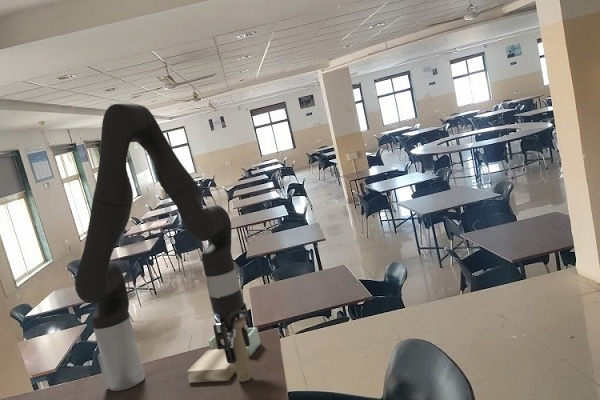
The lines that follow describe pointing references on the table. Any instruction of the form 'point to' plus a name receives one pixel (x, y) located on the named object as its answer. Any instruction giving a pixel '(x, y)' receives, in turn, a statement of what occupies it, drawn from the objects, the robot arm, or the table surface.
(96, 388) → the table surface
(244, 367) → the handle
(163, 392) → the table surface
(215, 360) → the cream flat slab
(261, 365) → the table surface
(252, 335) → the box
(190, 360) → the table surface
